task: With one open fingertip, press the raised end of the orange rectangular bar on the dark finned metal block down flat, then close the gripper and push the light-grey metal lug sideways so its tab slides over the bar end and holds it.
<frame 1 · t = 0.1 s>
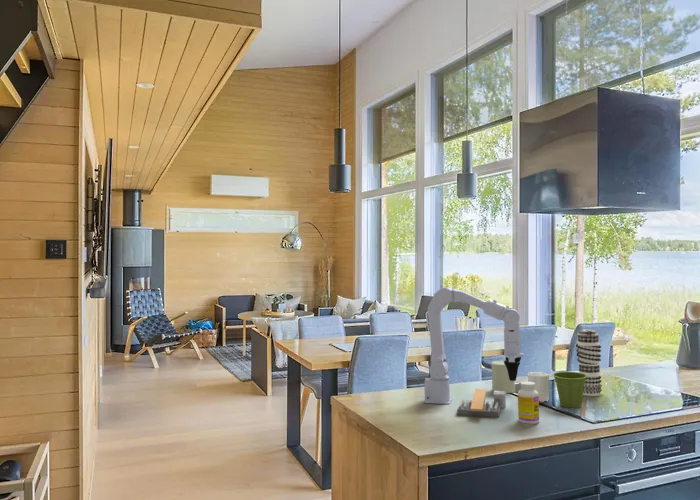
hand: (513, 378, 209), 10 cm above the counter, tool pointing down, fingers open, 7 cm apart
can: (503, 391, 233), on the counter
lug: (499, 399, 207), point 3 cm above the counter, slide at 0.0 cm
plant pot: (570, 406, 207), on the counter
decorative candle: (590, 393, 224), on the counter
heatsink block: (479, 413, 201), on the counter
supplement bottle: (529, 422, 189), on the counter
orange rectangular bar: (478, 400, 201), point 4 cm above the counter, hinge at 12.0°
white cup: (539, 400, 216), on the counter
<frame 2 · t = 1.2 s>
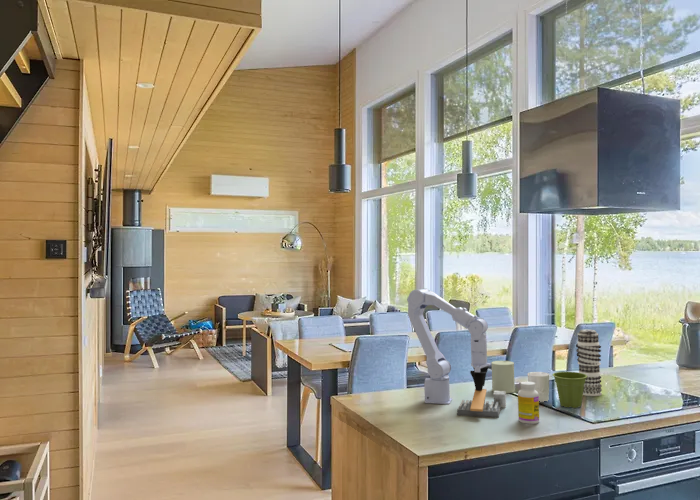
hand: (480, 388, 210), 7 cm above the counter, tool pointing down, fingers open, 7 cm apart
orange rectangular bar: (478, 400, 201), point 4 cm above the counter, hinge at 12.0°, touching gripper
everything else where it was.
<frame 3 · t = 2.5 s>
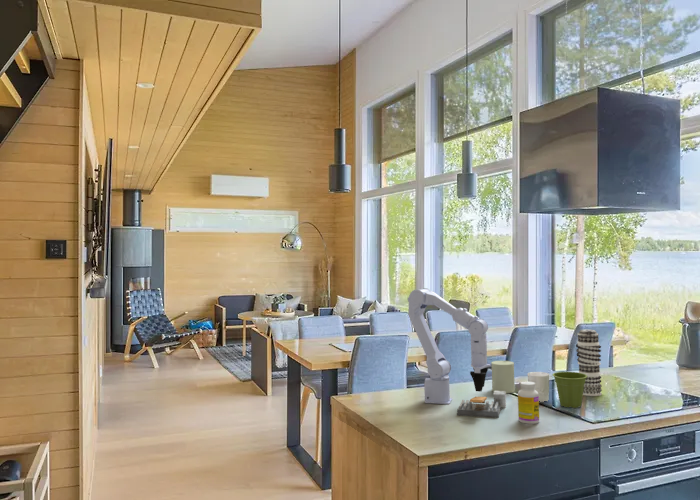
hand: (479, 388, 210), 6 cm above the counter, tool pointing down, fingers open, 7 cm apart
orange rectangular bar: (478, 400, 201), point 4 cm above the counter, hinge at -9.8°
everything else where it was.
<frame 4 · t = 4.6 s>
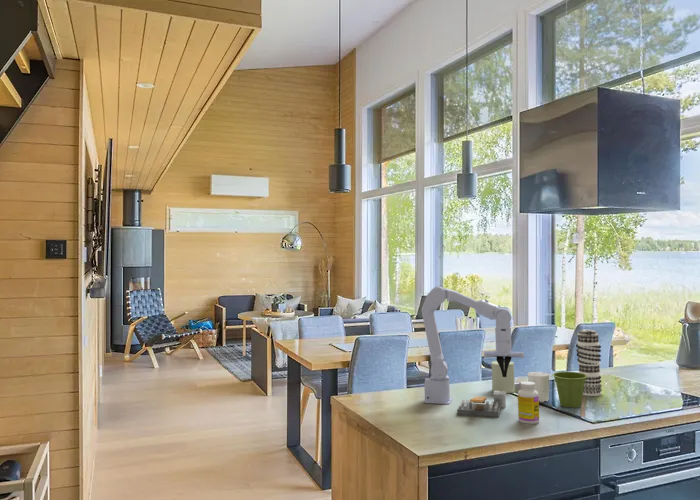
hand: (504, 376, 213), 10 cm above the counter, tool pointing down, fingers closed
nothing on the counter moved.
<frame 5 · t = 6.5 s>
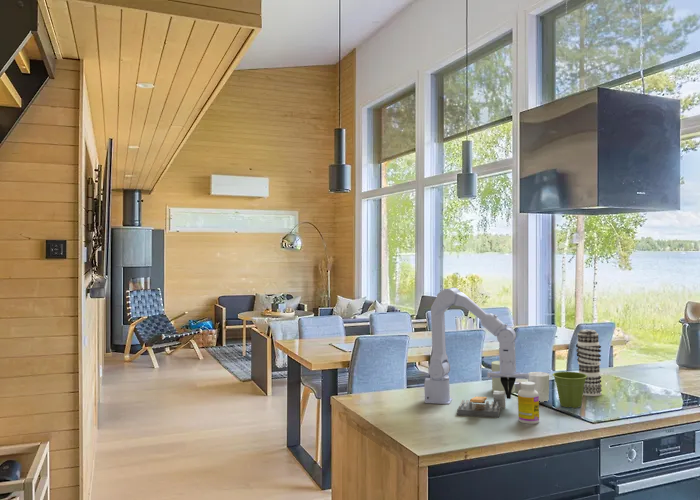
hand: (508, 398, 207), 3 cm above the counter, tool pointing down, fingers closed
lug: (499, 399, 207), point 3 cm above the counter, slide at 0.1 cm, touching gripper
everything else where it was.
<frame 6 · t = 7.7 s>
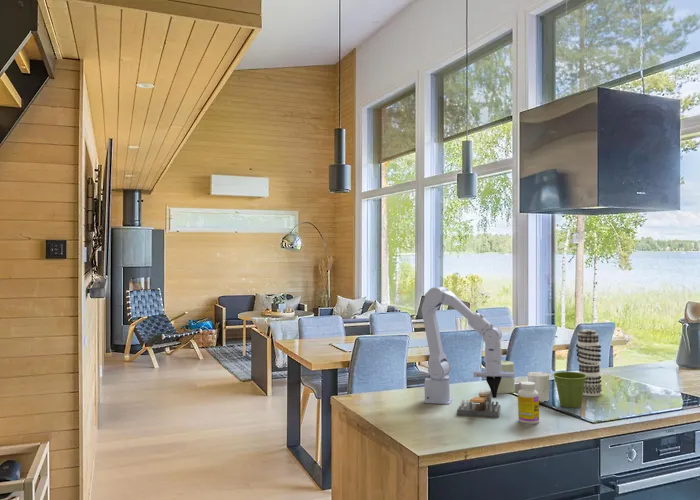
hand: (494, 397, 209), 3 cm above the counter, tool pointing down, fingers closed
lug: (485, 399, 209), point 3 cm above the counter, slide at 5.2 cm, touching gripper
everything else where it was.
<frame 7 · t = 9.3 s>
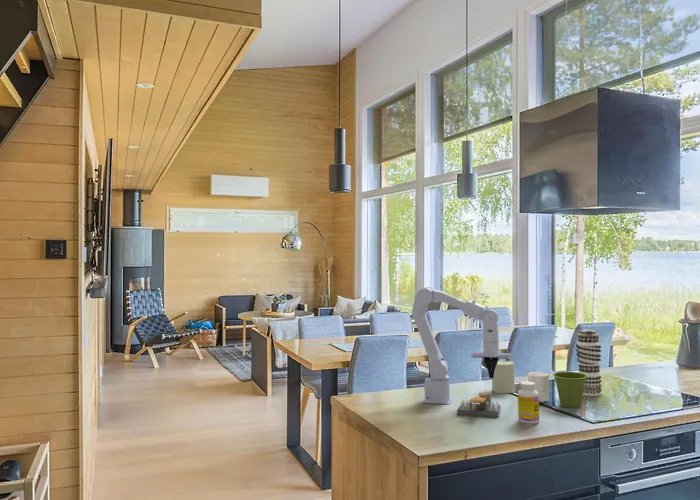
hand: (491, 377, 213), 10 cm above the counter, tool pointing down, fingers closed
lug: (485, 399, 209), point 3 cm above the counter, slide at 5.2 cm
everything else where it was.
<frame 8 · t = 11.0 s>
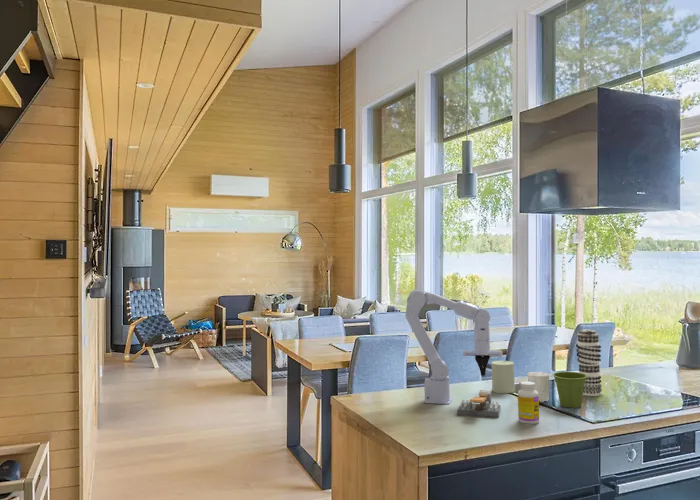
hand: (483, 375, 217), 10 cm above the counter, tool pointing down, fingers closed
nothing on the counter moved.
at the end: orange rectangular bar at -10° (first picture: +12°); lug slide at 5.2 cm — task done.
